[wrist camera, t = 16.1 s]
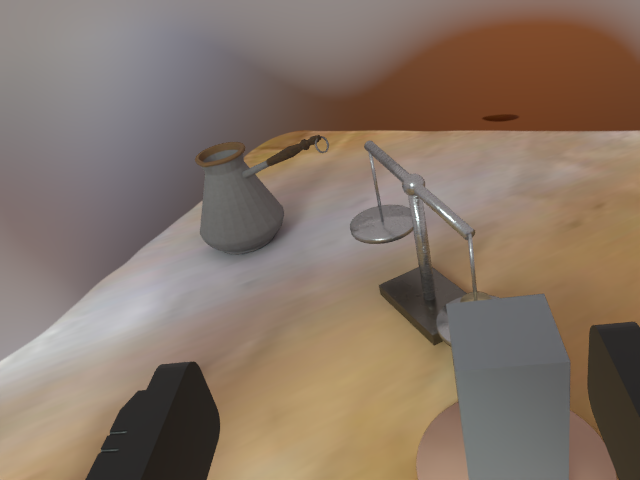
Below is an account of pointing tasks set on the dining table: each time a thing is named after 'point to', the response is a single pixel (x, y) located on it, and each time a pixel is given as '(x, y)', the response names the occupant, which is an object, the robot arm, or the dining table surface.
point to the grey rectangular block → (511, 388)
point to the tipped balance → (423, 282)
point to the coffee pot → (240, 198)
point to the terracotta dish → (450, 461)
